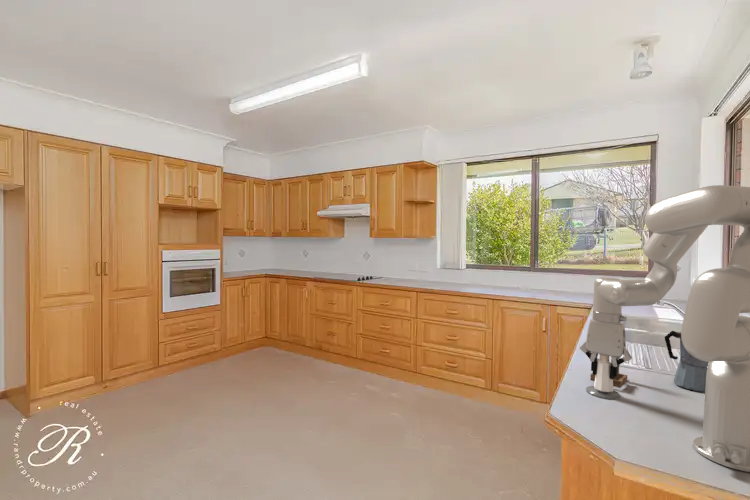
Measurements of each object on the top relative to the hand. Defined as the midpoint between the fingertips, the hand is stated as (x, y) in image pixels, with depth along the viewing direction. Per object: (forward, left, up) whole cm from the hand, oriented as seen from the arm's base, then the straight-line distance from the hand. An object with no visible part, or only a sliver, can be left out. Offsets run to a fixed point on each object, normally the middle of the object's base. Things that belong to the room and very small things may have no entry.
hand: (603, 375), depth 119 cm
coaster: (0, 0, -6) cm, 6 cm away
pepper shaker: (0, 0, -4) cm, 4 cm away
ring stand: (+13, +1, -6) cm, 14 cm away
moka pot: (+29, -18, -6) cm, 34 cm away
